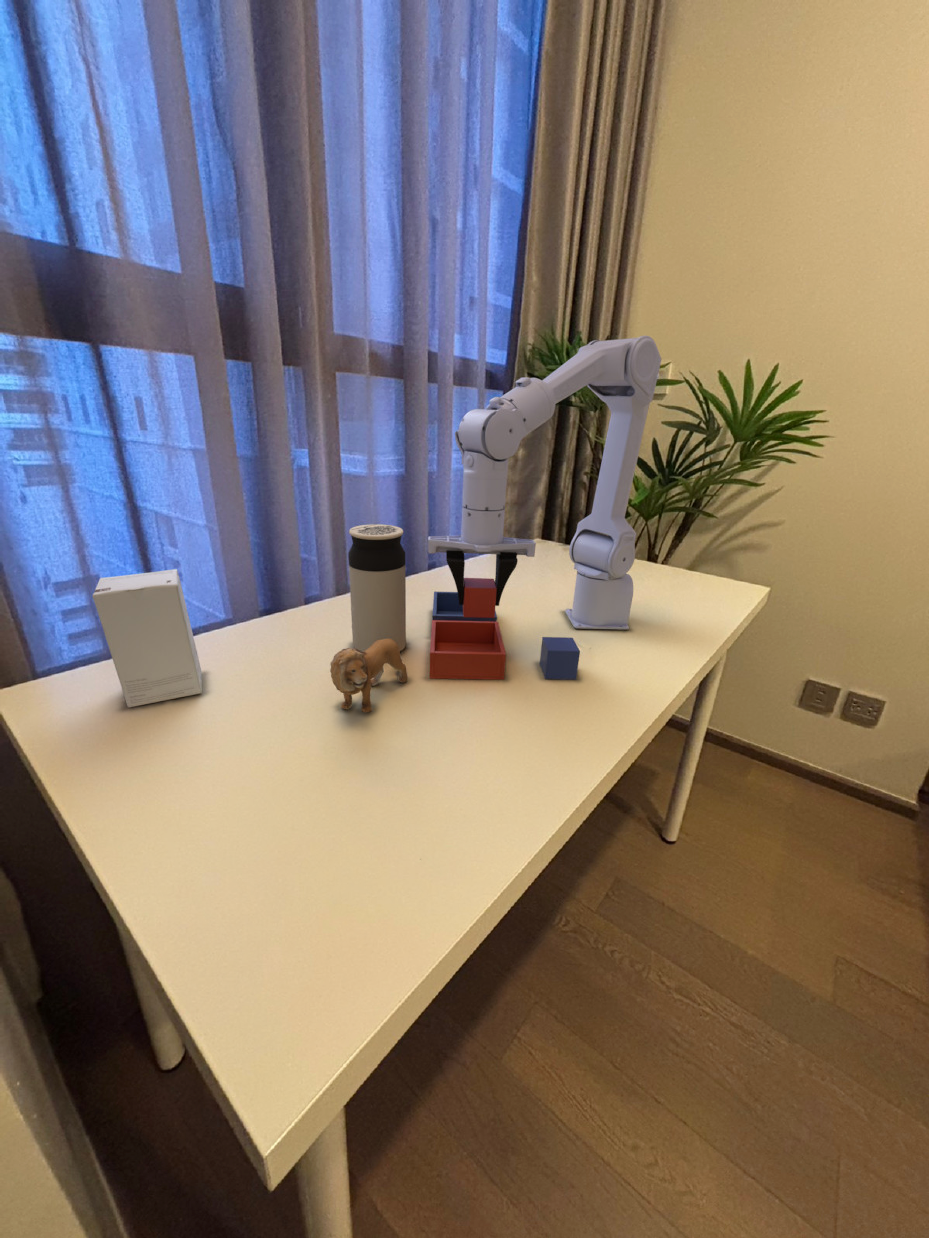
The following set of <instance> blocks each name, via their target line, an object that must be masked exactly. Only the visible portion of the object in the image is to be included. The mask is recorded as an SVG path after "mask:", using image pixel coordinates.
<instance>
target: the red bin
mask: <svg viewBox="0 0 929 1238" xmlns="http://www.w3.org/2000/svg"><path fill="white" fill-rule="evenodd" d="M429 643H430V645H429V679H440V680H441V679H443V680H448V679H449V680H500V681H501V680H502V681H503V680H505V674H506V673H505V671H506V659H507V653H506V648H505V644H504V640H503V637H502V632H501V628H500V624H499V621H497V622H491V621H447V620H432V619H431V629H430V642H429Z"/></svg>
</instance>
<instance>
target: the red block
mask: <svg viewBox="0 0 929 1238" xmlns="http://www.w3.org/2000/svg"><path fill="white" fill-rule="evenodd" d="M496 591H497V588H496V585H495V578H486V577H483V578H482V577H464V605H463V617H479V618H495V611H496V606H495V605H496Z"/></svg>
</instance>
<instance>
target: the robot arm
mask: <svg viewBox="0 0 929 1238" xmlns="http://www.w3.org/2000/svg"><path fill="white" fill-rule="evenodd" d="M661 365H662V356H661V354H660V351H659V349H658V346H657V344H656V342H655V340H654V338H652V337H651V336H649V335H641V336H638V337H630V338H620V339H619V338H618V339H608V340H607V339H606V340H601V339H595V340H592V341H589V342H588V344H585V345H583V346H581V347H579V348H578V351H577V353H576V354H575V355H573V356H572V357H571V358H569V359H568V360H567V361H565V362H564V363H563V364H562V365H560V366H559V367H557V369H555V370H554V371H552V372H551V373H549V375H547V376H546V377H545V378H543V379H540V378H537V377H527V376H525V377H520V378H518V379H517V380H516V381H515V382H514V383H515V387H514V388H512V389H511V390H509V391H508V392H506V393H505V394H503V395H502V396H494V397H493V398H490V399H489V401H488V403H489V404H487V406H486V408H474V409H471V410H469V411H468V412H467V413H466V414H464V416H463V417H462V419H461V420H460V423H459V425H458V429H457V430H455V431H454V437H455V438H454V440H455V443H456V446H457V448H458V449H459V451H460V454H461V465H462V466H463V470H462V471H463V475H462V478H463V479H462V499H461V500H462V503H461V522H460V523H461V524H460V525H461V526H460V531H461V532H460V535H459V534H458V535H457V534H456V535H441V536H440V535H439V536H438V535H437V536H436V535H435V536H433V535H432V536H428V539H427V554H433V555H434V554H437V553H441V554H442V553H445V554H446V555H445V556H446V557H445V558H446V559H445V561H446V564H447V566H448V568H449V570H450V572H451V575H452V577H453V581H454V584H455V587H456V592H458V597H459V605H464V578H465V568H466V567H465V566H466V565H465V564H466V562H465V561H466V560H465V554H473V555H475V554H476V555H495V576H494V577H495V578H494V581H495V585H496V588H497V591H496V605H495V607H498V606H500V602H501V598H502V596H503V595H502V594H503V593H504V590H505V587H506V585H507V582H508V581H509V579H510V576H511V575H512V574H513V572H514V571H515V569H516V568H517V566H518V560H519V559H518V556H526V557H528V558H534V557H535V555H536V554H535V553H536V545H537V543H536V541H535V540H534V539H527V538H526V539H525V538H516V537H509V536H508V537H506V536H504V530H505V518H506V517H505V513H506V502H507V501H506V500H507V486H508V472H509V459H510V457H513V456H514V455H515V454H516V453H517V451H518V450H519V447H520V444H521V441H522V440H523V439H524V438H525V437H526V436H527V435H529V434H530V433H532V432H533V431H535V430H536V429H538V427H540V426H542V425H543V424H545V423H546V422H547V421H549V420H550V419H551V418H552V417H553V415H554V413H555V410H556V404H558V403H559V402H562V401H563V400H565V399H566V398H568V397H570V396H571V395H573V394H574V393H576V392H578V391H580V390H581V389H583V388H584V387H587V388H588V389H589V390H591V392H592V393H594V394H595V395H596V396H597V397H598V398H599V399H600V400H601V402H603V403H605V404H606V406H607V407H608V409H609V411H610V418H609V423H608V427H607V433H606V438H605V444H604V447H603V452H602V453H603V454H602V458H601V464H600V468H599V473H598V478H597V483H596V488H595V493H594V499H593V502H592V508H591V513H590V514H589V515H587V516H586V517H584V518H582V519H581V520H580V521H579V522H578V523H577V526H576V532H575V533H574V536H573V537H572V539H571V542H570V545H569V550H568V552H569V553H568V555H569V558H570V561H571V562H572V563H573V564H574V565H573V570H576V577H575V583H574V584H575V586H574V592H573V600H572V607H571V608H566V609H565V610H564V612H565V615H566V616H567V618H568V620H569V621H570V624H572V626H573V628H574V629H585V630H629V629H630V626H629V621H630V614H631V610H632V609H631V608H632V603H633V599H634V598H633V597H634V580H633V577H632V576H631V574H629V573H628V572H629V571H630V570H631V569H632V567H633V565H634V563H635V559H636V545H635V543H636V538H637V532H636V530H634V528H633V527H632V526H631V525H630V523H629V522H628V521H627V518H626V513H627V508H628V504H629V500H630V495H631V489H632V486H633V481H634V478H635V477H634V476H635V472H636V469H637V468H636V467H637V463H638V460H639V454H640V449H641V445H642V440H643V435H644V431H645V426H646V422H647V417H648V413H649V409H650V404H651V403H652V402H653V399H654V395H655V391H656V385H657V382H658V377H659V372H660V368H661Z"/></svg>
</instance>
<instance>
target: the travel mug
mask: <svg viewBox="0 0 929 1238" xmlns="http://www.w3.org/2000/svg"><path fill="white" fill-rule="evenodd" d="M348 534H349V535H350V536H351V541H352V545H351V546H350V549H349V551H348V553H347V555H348V576H349V592H350V593H349V596H350V613H351V614H350V615H351V633H352V647H353V649H358V650H360V651H361V652H364V651H365V650H367V649H368V648H369V647H370V646H371V645H372V644H373V643H374V642H376V641H377V640H382V639H392V640H394V641H395V642H396V643H397V645H398V647H399V651H400V652H401V651H403V650H404V649H405V647H406V645H407V613H406V612H407V603H406V602H407V601H406V600H407V599H406V598H407V597H406V596H407V595H406V594H407V593H406V592H407V591H406V586H407V585H406V579H407V577H406V573H407V572H406V551H405V549H404V547H403V545H402V543H401V542H402V536H403V534H404V529H403V528H402V527H399V526H396V525H393V524H384V523H383V524H381V523H379V524H378V523H375V524H373V523H371V524H360V525H356V526H353V527H351V528H350V529H349V530H348Z"/></svg>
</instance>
